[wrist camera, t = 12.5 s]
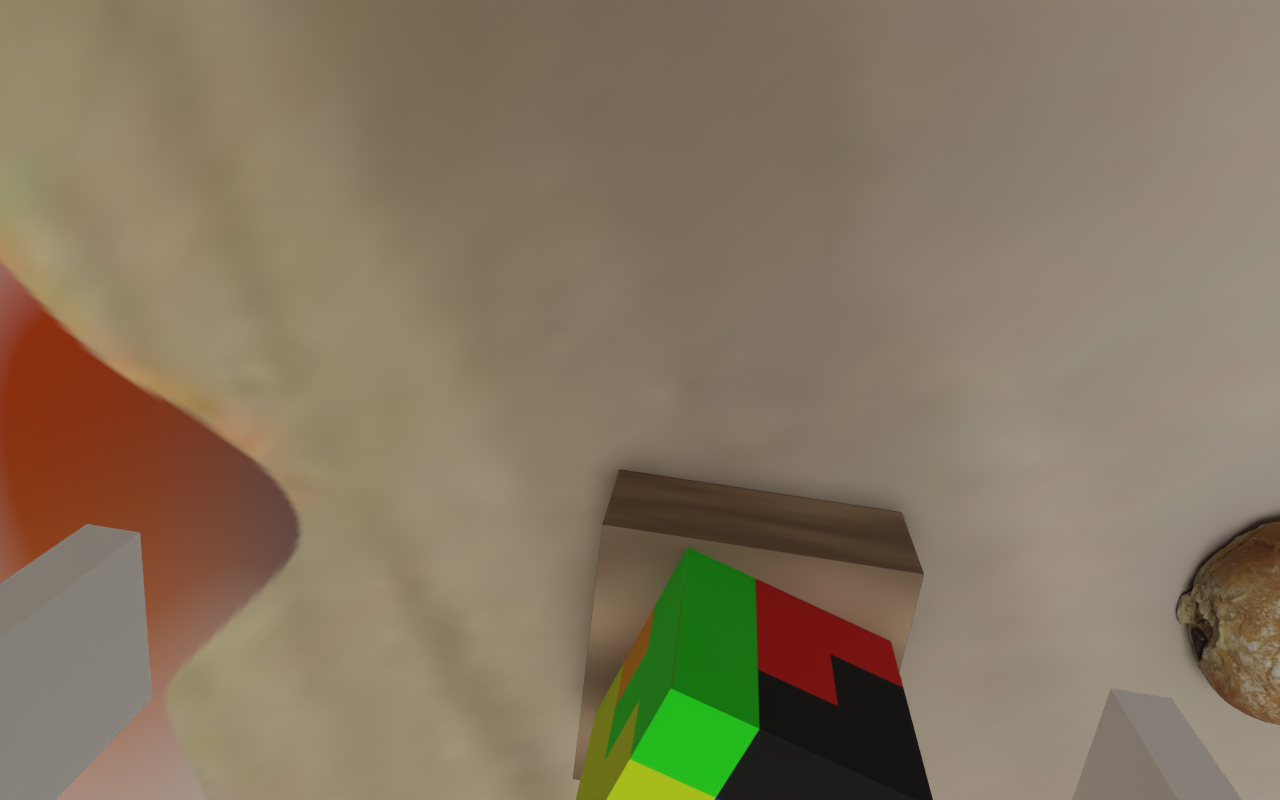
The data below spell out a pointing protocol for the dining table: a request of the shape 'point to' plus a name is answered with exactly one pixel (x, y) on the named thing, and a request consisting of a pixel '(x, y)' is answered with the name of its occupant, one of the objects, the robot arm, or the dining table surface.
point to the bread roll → (1240, 622)
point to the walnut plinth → (741, 563)
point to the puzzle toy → (751, 702)
